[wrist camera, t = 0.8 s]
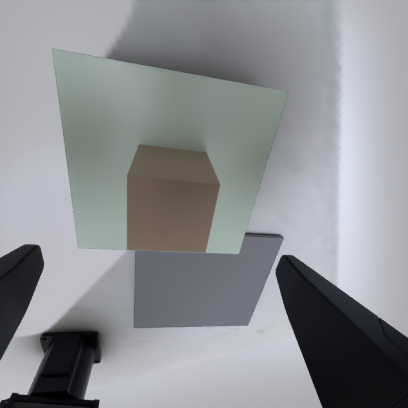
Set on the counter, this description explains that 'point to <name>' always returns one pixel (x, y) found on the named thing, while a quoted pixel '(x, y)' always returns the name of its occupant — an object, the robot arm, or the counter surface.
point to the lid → (162, 154)
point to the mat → (202, 285)
